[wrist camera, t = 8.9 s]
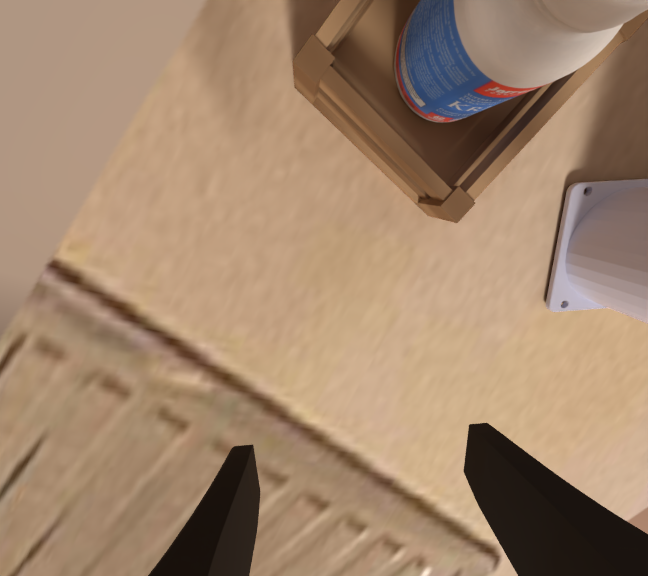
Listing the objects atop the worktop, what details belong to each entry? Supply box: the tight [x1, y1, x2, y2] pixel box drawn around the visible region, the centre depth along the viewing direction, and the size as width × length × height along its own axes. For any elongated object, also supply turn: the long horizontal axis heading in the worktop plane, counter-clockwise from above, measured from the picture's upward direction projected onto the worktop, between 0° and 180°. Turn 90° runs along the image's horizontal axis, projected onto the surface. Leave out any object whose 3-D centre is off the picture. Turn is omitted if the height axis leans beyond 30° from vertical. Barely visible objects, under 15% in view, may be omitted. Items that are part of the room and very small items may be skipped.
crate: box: [293, 0, 648, 223], centre depth 14 cm, size 11×10×4 cm
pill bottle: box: [394, 0, 648, 122], centre depth 11 cm, size 6×5×10 cm
